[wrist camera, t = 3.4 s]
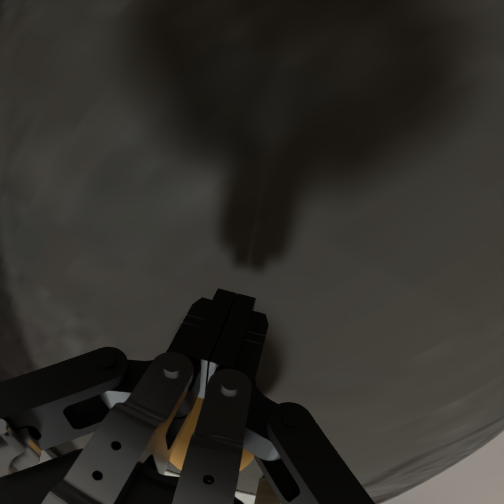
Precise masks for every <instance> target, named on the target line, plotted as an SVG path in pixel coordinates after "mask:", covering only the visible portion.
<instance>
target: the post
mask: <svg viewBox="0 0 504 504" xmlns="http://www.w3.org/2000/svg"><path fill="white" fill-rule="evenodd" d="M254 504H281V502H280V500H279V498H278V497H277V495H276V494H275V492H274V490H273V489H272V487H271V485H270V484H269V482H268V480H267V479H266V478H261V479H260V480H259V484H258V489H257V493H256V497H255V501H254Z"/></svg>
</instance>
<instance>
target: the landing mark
mask: <svg viewBox="0 0 504 504" xmlns="http://www.w3.org/2000/svg"><path fill="white" fill-rule="evenodd" d="M164 475H167V476H176V477H180V475H179V474H176V473H173V472H170V471H168V470H166V471H165V473H164ZM235 497H236V498H238V499H239V500H241V501H242V502H243V503H244V504H254V501H255V497H256V495H255V494H250V493H245V492H241V491H236V492H235Z"/></svg>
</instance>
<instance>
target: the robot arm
mask: <svg viewBox="0 0 504 504" xmlns="http://www.w3.org/2000/svg"><path fill="white" fill-rule="evenodd" d="M236 295H237V296H236ZM255 300H256V298H254V297H250V296H246V295H242V294H237V293H234V292H230V291H227V290H223V289H218V290H217V291H216V293H215V295H214V298H213V300H210V299H206V298H201V299H199V300H198V301H196V302H195V303H194V304H192V306H191V308H190V310H189V312H188V313H187V315H186V317H185V319H184V321H183V323H182V324H181V326H180V328H179V330H178V332H177V333H176V335H175V337H174V339H173V341H172V343H171V344H170V346H169V348H168V350H167V351H166V353H162V354H160V355H158V356H157V357H156V358H155V359H154V360H151V361H137V360H127V357H126V355H125V354H124V353H123V352H122V351H121V350H119V349H117V348H114V347H103V348H99V349H97V350H94V351H91V352H88V353H85V354H83V355H80V356H77V357H74V358H71V359H68V360H65V361H63V362H60V363H57V364H54V365H51V366H48V367H45V368H42V369H39V370H36V371H33V372H30V373H27V374H24V375H21V376H18V377H15V378H12V379H9V380H5V381H2V382H0V504H244V503H243V502H242V501H241V500H239V499H238V498H236V497H235V492H236V487H237V481H238V476H239V470H240V465H241V459H242V453H243V449H245V450H247V451H249V452H250V453H252V454H254V458H255V460H256V461H257V463H258V465H259V467H260V468H261V470H262V472H263V473H264V475H265V477H266V479H267V480H268V482H269V484H270V485H271V487H272V489H273V490H274V492H275V494H276V495H277V497H278V498H279V500H280V502H281V503H282V504H375V503H374V502H373V500H372V499H371V498H370V496H369V495H368V494H367V492H366V491H365V490H364V488H363V487H362V486H361V484H360V483H359V481H358V480H357V479H356V477H355V476H354V475H353V473H352V472H351V471H350V469H349V468H348V466H347V465H346V464H345V462H344V461H343V460H342V458H341V457H340V455H339V454H338V453H337V451H336V450H335V448H334V447H333V446H332V444H331V443H330V441H329V440H328V439H327V437H326V436H325V434H324V433H323V431H322V430H321V429H320V427H319V426H318V424H317V423H316V421H315V420H314V419H313V417H312V416H311V414H310V413H309V412H308V410H307V409H306V408H304V407H303V406H301V405H299V404H296V403H292V402H285V403H280V404H277V403H275V402H273V401H272V400H270V399H268V398H267V397H265V396H264V395H263V394H262V393H261V392H260V391H259V390H258V388H257V386H256V382H255V376H256V372H257V368H258V364H259V360H260V356H261V352H262V348H263V344H264V341H265V337H266V333H267V329H268V321H267V318H266V314H263V313H259V312H255V311H253V309H254V305H255ZM197 397H200V398H203V403H202V406H201V410H200V413H199V417H198V420H197V424H196V427H195V431H194V433H192V435H191V438H190V441H189V445H188V448H187V452H186V455H185V459H184V462H183V466H182V469H181V473H180V477H176V476H167V475H164V473H165V471H166V469H167V467H168V464H169V460H170V456H171V453H172V451H173V449H174V447H175V445H176V443H177V441H178V439H179V437H180V435H181V434H182V432H183V430H184V428H185V426H186V424H187V422H188V420H189V418H190V416H191V413H192V409H193V407H194V404H195V402H196V399H197ZM94 431H95V433H94V434H93V436H92V437H91V439H90V440H89V442H88V443H87V445H86V446H85V448H84V449H78V450H74V451H71V452H69V453H66V454H64V455H61V456H59V457H56V458H54V459H51V460H48V461H46V462H43V463H40V464H38V463H39V461H40V456H41V450H44V449H47V448H50V447H53V446H56V445H59V444H62V443H65V442H67V441H70V440H73V439H76V438H78V437H81V436H84V435H86V434H89V433H92V432H94ZM36 464H38V465H36ZM33 465H35V466H33ZM31 466H32V467H31Z"/></svg>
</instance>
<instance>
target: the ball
mask: <svg viewBox="0 0 504 504" xmlns="http://www.w3.org/2000/svg"><path fill="white" fill-rule="evenodd" d="M202 403H203V398H200V397H197V399H196V402H195V404H194V407H193V409H192V413H191V416H190V418H189V420H188V422H187V424H186V426H185V428H184V430H183V432H182V434H181V435H180V437H179V439H178V441H177V443H176V445H175V447H174V449H173V451H172V453H171V456H170V462H171V463H172V464H173V465H175V466H176V467H177V468H178V469H180V470H181V469H182V466H183V462H184V459H185V455H186V452H187V448H188V445H189V441H190V438H191V435H192V433H194V431H195V427H196V424H197V420H198V417H199V413H200V410H201V406H202ZM253 458H254V454H252V453H250V452H249V451H247V450H245V449H243V453H242V459H241V465H240V470H239V471H241V470H242V469H244V468H245V467H246V466H247V465H248V464H249V463H250V462H251V461H252V460H253Z"/></svg>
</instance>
